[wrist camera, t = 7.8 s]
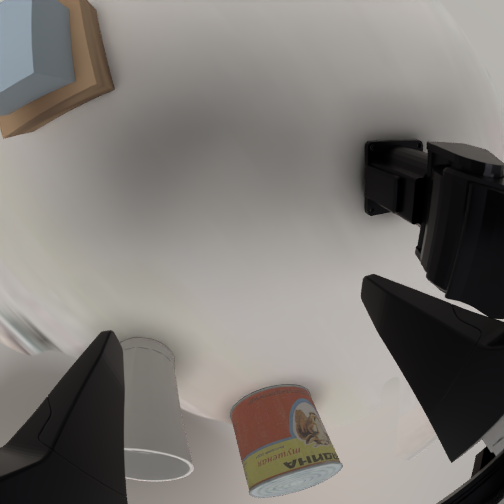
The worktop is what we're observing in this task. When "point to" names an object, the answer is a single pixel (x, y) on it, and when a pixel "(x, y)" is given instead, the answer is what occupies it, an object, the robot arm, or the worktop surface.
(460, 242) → the robot arm
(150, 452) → the cup
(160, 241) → the worktop surface
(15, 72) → the cube
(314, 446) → the canned food
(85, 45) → the walnut block
